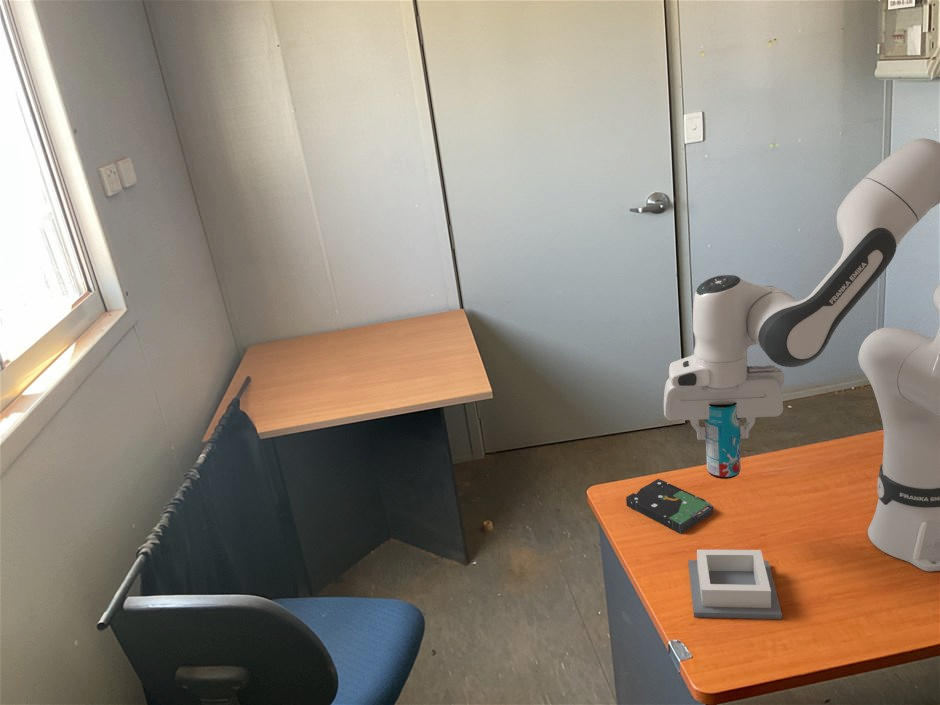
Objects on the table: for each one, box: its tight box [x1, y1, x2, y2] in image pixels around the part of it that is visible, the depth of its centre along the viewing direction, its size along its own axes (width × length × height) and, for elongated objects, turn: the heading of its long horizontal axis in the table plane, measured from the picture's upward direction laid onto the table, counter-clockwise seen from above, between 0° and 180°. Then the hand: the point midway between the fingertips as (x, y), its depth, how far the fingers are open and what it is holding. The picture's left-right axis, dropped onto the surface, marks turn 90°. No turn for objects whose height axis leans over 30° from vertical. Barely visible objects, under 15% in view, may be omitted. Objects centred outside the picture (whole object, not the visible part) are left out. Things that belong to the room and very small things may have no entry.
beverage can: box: [704, 403, 741, 480], centre depth 139 cm, size 6×6×15 cm
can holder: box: [687, 549, 783, 620], centre depth 134 cm, size 14×14×4 cm
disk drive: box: [625, 478, 714, 535], centre depth 160 cm, size 10×3×15 cm
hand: (722, 437), depth 139 cm, fingers closed on beverage can, 6 cm apart
